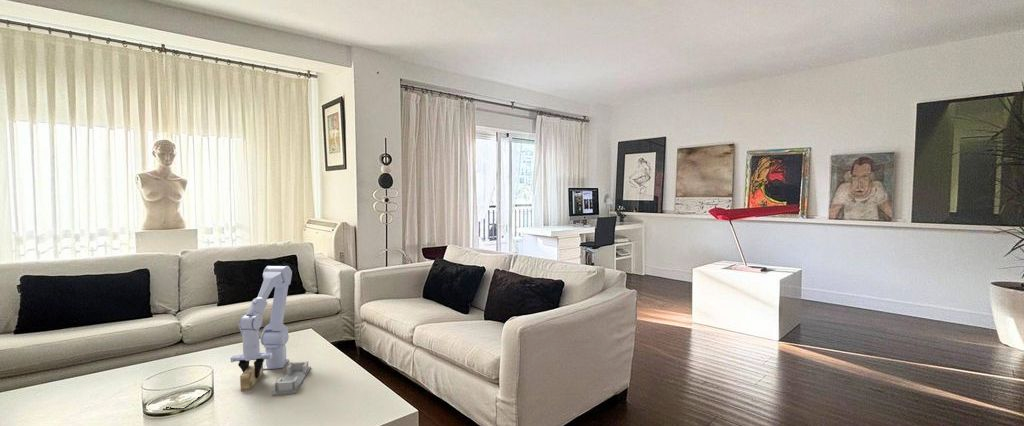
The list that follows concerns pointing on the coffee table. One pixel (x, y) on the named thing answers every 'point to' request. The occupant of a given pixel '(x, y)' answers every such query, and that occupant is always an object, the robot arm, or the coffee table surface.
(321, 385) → the coffee table surface
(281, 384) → the end cap cradle
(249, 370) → the oak slat
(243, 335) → the robot arm
